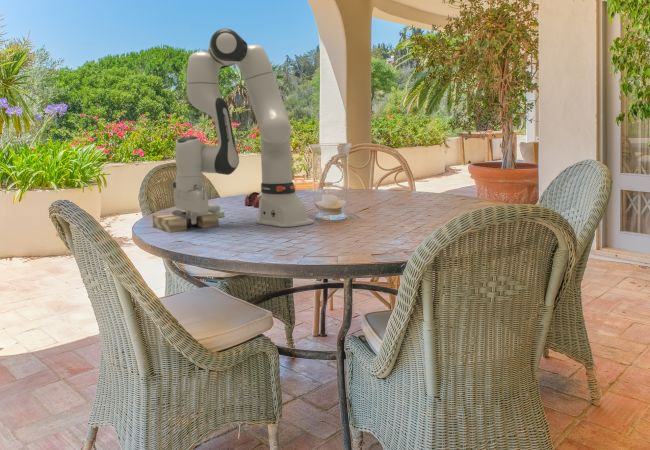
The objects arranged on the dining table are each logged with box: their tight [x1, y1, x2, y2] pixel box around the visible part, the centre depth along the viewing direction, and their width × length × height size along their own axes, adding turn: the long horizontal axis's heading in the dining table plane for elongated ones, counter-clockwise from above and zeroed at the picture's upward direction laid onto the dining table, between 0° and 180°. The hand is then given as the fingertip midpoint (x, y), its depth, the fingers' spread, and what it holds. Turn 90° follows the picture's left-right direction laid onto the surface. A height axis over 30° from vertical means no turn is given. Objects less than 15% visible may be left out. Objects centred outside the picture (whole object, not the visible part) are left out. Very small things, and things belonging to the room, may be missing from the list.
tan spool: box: [151, 212, 220, 233], centre depth 203 cm, size 16×18×4 cm
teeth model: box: [244, 191, 262, 209], centre depth 251 cm, size 8×6×12 cm
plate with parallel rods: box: [180, 202, 225, 219], centre depth 224 cm, size 16×12×5 cm
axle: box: [171, 209, 198, 228], centre depth 204 cm, size 12×5×5 cm, turn 37°
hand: (192, 223), depth 198 cm, fingers closed
